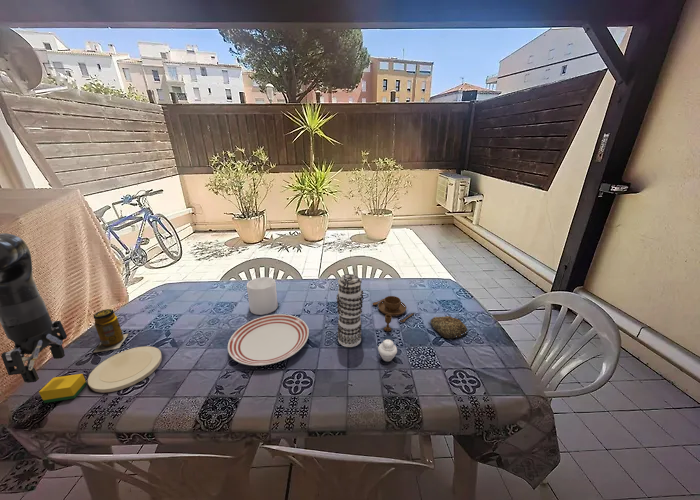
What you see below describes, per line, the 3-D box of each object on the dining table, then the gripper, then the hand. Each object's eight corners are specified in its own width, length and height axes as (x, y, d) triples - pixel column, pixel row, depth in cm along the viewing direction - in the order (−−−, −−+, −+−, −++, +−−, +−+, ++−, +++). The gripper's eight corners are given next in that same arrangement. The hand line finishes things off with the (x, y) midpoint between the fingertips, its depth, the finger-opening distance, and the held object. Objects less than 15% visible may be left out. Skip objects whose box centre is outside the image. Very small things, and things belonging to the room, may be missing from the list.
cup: (246, 305, 120) (243, 281, 116) (272, 298, 126) (270, 274, 122) (254, 318, 111) (250, 292, 107) (281, 309, 117) (279, 284, 113)
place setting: (417, 312, 115) (418, 300, 113) (389, 333, 102) (390, 319, 100) (384, 297, 127) (385, 286, 125) (355, 315, 113) (355, 302, 111)
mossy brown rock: (442, 341, 98) (443, 329, 96) (426, 321, 109) (427, 310, 107) (473, 336, 100) (476, 325, 98) (455, 317, 111) (457, 307, 110)
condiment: (128, 333, 101) (119, 305, 97) (119, 348, 93) (109, 318, 89) (104, 338, 99) (94, 309, 94) (93, 353, 91) (81, 323, 87)
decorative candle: (367, 342, 97) (369, 279, 89) (345, 351, 92) (345, 285, 84) (353, 328, 104) (354, 269, 96) (332, 336, 100) (331, 275, 91)
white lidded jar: (398, 354, 91) (399, 337, 89) (394, 367, 86) (395, 349, 83) (380, 349, 93) (381, 332, 91) (375, 361, 88) (376, 344, 85)
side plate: (72, 397, 75) (71, 394, 74) (111, 353, 91) (110, 350, 91) (146, 386, 78) (145, 383, 78) (170, 345, 95) (170, 342, 94)
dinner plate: (236, 385, 79) (234, 376, 77) (223, 334, 101) (222, 327, 100) (322, 352, 92) (321, 344, 91) (294, 313, 114) (293, 306, 113)
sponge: (44, 403, 73) (38, 391, 72) (58, 388, 77) (53, 377, 76) (74, 398, 74) (69, 387, 73) (87, 384, 79) (82, 373, 78)
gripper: (31, 302, 72) (51, 352, 77) (-27, 334, 59) (3, 393, 64) (65, 299, 73) (82, 349, 79) (16, 331, 60) (41, 388, 65)
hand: (47, 368), depth 71 cm, fingers open, 8 cm apart
